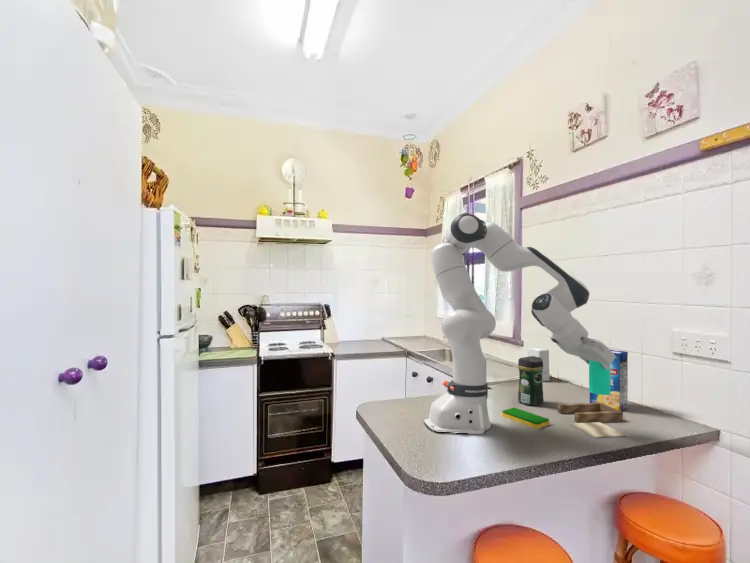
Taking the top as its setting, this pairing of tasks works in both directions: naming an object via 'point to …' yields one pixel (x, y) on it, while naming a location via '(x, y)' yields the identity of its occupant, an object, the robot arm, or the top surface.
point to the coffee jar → (530, 380)
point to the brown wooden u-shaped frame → (591, 412)
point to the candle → (598, 379)
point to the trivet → (598, 430)
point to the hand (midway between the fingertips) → (599, 365)
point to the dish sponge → (525, 418)
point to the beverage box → (616, 383)
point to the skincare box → (545, 358)
